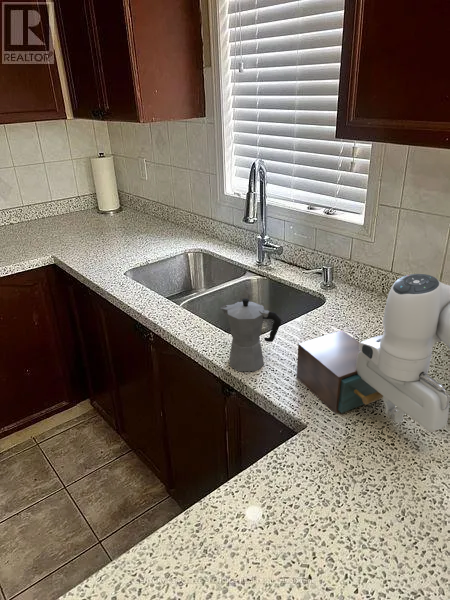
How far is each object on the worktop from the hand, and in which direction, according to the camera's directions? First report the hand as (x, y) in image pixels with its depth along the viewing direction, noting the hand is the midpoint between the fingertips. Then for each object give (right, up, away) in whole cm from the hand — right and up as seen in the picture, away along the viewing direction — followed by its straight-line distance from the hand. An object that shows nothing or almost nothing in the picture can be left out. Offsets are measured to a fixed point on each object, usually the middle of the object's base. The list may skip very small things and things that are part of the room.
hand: (393, 418), depth 88 cm
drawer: (-6, +3, +12) cm, 13 cm away
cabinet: (-7, +3, +15) cm, 17 cm away
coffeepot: (-27, +7, +25) cm, 37 cm away
